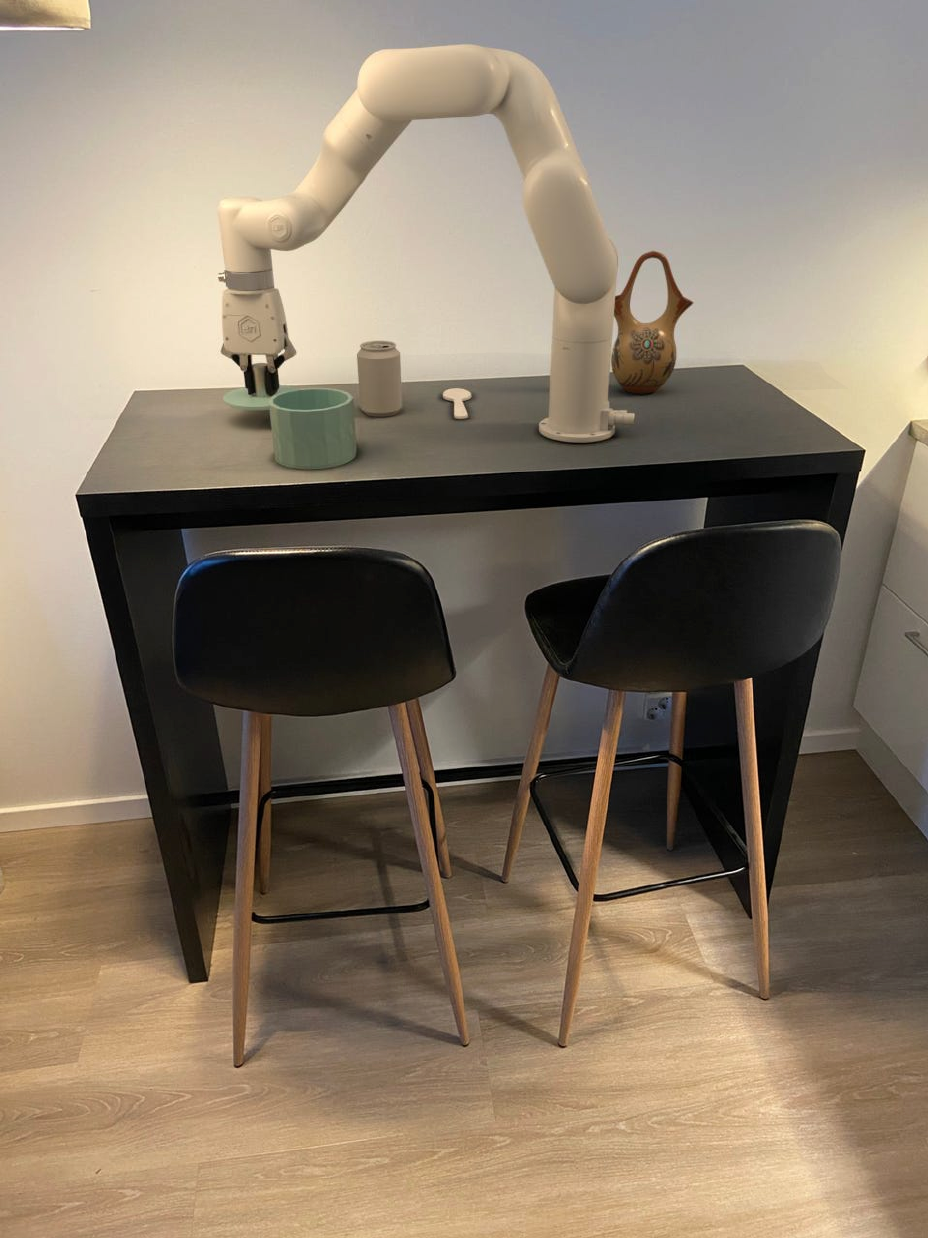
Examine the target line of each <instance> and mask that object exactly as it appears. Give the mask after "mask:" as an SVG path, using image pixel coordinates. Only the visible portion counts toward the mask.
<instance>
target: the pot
mask: <svg viewBox="0 0 928 1238" xmlns="http://www.w3.org/2000/svg"><path fill="white" fill-rule="evenodd" d="M268 403H269V410H268V411H269V419H270V428H271V437H272V445H273V453H274V460H275V462H276V463H277V464H278V465H280V466H282V467H286V468H288V469H293V470H294V469H296V470H305V471H306V470H309V471H310V470H311V471H312V470H324V469H330V468H337V467H339V466H343V465H345V464H348V463H349V462H351V461H352V460H354V459H355V458H356V456H357V451H358V450H357V440H356V439H357V438H356V436H357V435H356V422H355V410H354V409H355V408H354V398H353V396H352V394H351V393H350V392H347V391H345V390H343V389H337V388H332V387H303V388H298V389H295V390H290V391H285V392H282V393H279V394H276V395H274V396H272V397H271V398H270V399H269V400H268Z"/></svg>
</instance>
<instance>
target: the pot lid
mask: <svg viewBox="0 0 928 1238" xmlns="http://www.w3.org/2000/svg"><path fill="white" fill-rule="evenodd" d="M267 372H268V366H267V362H256V363H252V374H253V382H254V390H255V393H254V394H253V395H249V394H248V389H246V387H245V386H244V387H243V386H242V387H239V388H235V389H233V390H230V391H227V392H226V393H225V394H224V395H223V397H222V400H223V403H224V405H226V406H227V407H230V408H233V409H237V410H245V411H269V403H268V400H269V399H270V398H271V397H272V396H269V395H268V391H267V382H266V373H267ZM295 389H299V388H298V387H296V386H291V385H286V384H285V385H284V384H279V389H278V391H277V392H276V393H275V394H274V395H276V394H279V393H282V392H285V391H290V390H295ZM274 395H273V396H274Z"/></svg>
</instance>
